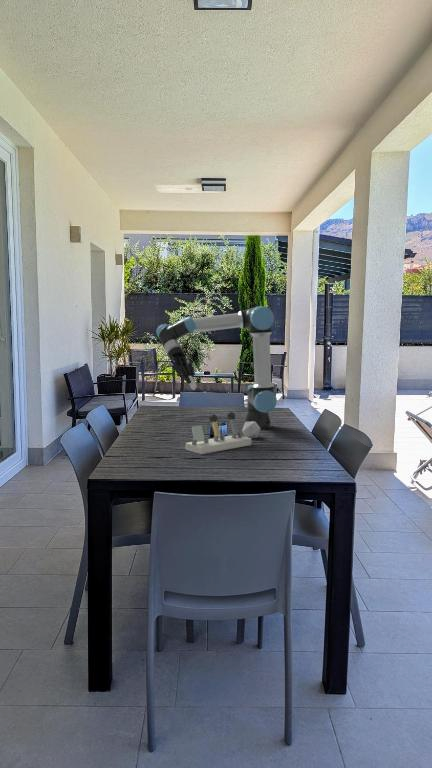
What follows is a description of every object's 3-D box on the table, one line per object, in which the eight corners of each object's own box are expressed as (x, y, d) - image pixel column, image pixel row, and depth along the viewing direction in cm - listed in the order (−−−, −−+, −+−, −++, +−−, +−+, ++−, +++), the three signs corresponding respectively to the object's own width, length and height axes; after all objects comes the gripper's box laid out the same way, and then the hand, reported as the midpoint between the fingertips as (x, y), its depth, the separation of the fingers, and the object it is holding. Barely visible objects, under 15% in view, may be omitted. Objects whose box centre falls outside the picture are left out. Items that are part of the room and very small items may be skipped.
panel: (185, 449, 245) (185, 437, 244) (235, 440, 264) (235, 429, 264) (200, 454, 237) (201, 441, 236) (251, 444, 256) (251, 433, 256)
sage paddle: (194, 442, 242) (191, 427, 243) (203, 441, 245) (200, 425, 246) (196, 442, 241) (192, 426, 242) (205, 440, 244) (201, 425, 246)
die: (238, 438, 274) (242, 425, 267) (245, 427, 280) (248, 414, 273) (253, 445, 272) (257, 432, 266) (259, 434, 278) (264, 421, 272)
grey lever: (230, 437, 258) (224, 413, 260) (237, 436, 260) (230, 413, 263) (236, 434, 255) (229, 411, 257) (242, 433, 257) (235, 410, 260)
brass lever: (212, 440, 251) (206, 416, 253) (219, 439, 253) (212, 415, 256) (217, 437, 248) (211, 413, 250) (224, 436, 250) (217, 412, 253)
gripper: (181, 355, 279) (201, 392, 268) (160, 356, 270) (180, 393, 259) (188, 345, 274) (208, 382, 263) (166, 345, 266) (187, 383, 255)
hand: (194, 388), depth 261 cm, fingers closed
